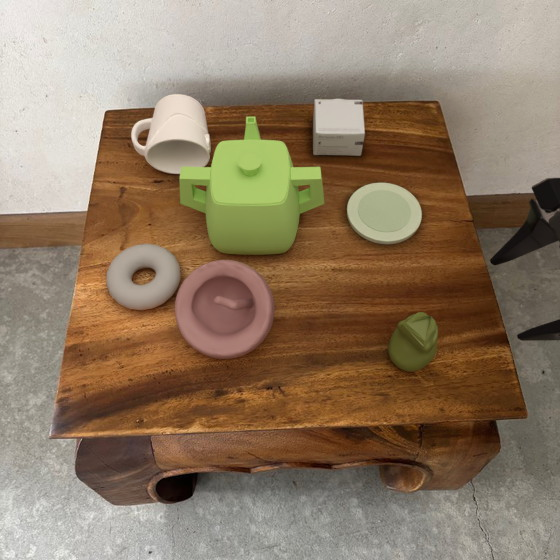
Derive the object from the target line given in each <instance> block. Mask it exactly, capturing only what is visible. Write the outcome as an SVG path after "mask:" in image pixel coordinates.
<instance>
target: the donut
mask: <svg viewBox="0 0 560 560" xmlns="http://www.w3.org/2000/svg"><path fill="white" fill-rule="evenodd" d="M142 269H152V270H153V271H154V272H155V275H154V277H153V279H152V280H151V281H149V282H147V283H146V284H137V283H134V282H133V276H134V275H135V273H137V272H138V271H139V270H140V271H141V270H142ZM181 278H182V274H181V266H180V264H179V261H178V260H177V257H176V256H175V254H173V253H172V252H171V251H170V250H169V249H167V248H165V247H162V246H160V245H158V244H153V243H140V244H135V245H132V246H129V247H127V248H124V250H122V251H121V252H119V253H118V254H117V255H116V256H115V257H114V259H113V260H112V261H111V263H109V266H108V269H107V272H106V277H105V279H106V282H105V283H106V288H107V291H108V293H109V295H110V297H112V298H113V299H114V300H115V301H116V302H117V303H118V305H119V306H122V307H125V308H126V309H130V310H136V311H144V310H151V309H152V310H153V309H154V308H158V307H159V306H161V305H163V304H165V303H166V302H167V301H169V300H170V299H171V298H172V297H173V295H174V294H175V293H176V291H177V290H178V288H179V287H180V286H179V285H180V281H181Z"/></svg>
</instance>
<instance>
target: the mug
mask: <svg viewBox="0 0 560 560" xmlns="http://www.w3.org/2000/svg"><path fill="white" fill-rule="evenodd" d="M207 123H208V122H207V118H206V111H205V109H204V107H203V105H202V104H201V103H200V102H199V101H198V100H197V99H195V98H193V97H192V96H189V95H187V94H181V93H174V94H173V93H172V94H169V95H165V96H164V97H162V98H161V99H159V101H158V102H157V103H156V104H155V106H154V110H153V114H152V117H151V118H145V119H141V120H139V121H136V122H135V124H134V125H133V126H132V128H131V133H130V137H131V141H132V145H133V148H134V150H135V151H136V153H137V154H138V155H141V156H142V157H144V159H145V161H146V162H147V163H148V165H150V166H151V167H152V168H154V169H155V170H158V171H159V172H163V173H166V174H172V175H180V172H181V167H207V165H208V163H209V162H210V159H211V153H212V146H211V143H212V142H211V136H210V134H209V129H208V124H207ZM147 130H149V131H148V135H147V138H146V142H145V145H141V144H140V143H139V142H138V141H139V135H140V134H141V133H142V132H144V131H147Z"/></svg>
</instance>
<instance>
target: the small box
mask: <svg viewBox="0 0 560 560" xmlns="http://www.w3.org/2000/svg"><path fill="white" fill-rule="evenodd" d="M313 101H314V102H313V115H312V116H313V117H312V150H313V152H312V153H313V154H312V155H313V156H354V157H361V156H362V153H363V147H364V143H365V136H366V130H365V115H364V100H363V99H344V98H333V99H332V98H331V99H329V98H327V99H326V98H325V99H323V98H321V99H320V98H314V100H313Z"/></svg>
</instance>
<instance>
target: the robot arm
mask: <svg viewBox="0 0 560 560" xmlns="http://www.w3.org/2000/svg"><path fill="white" fill-rule="evenodd" d="M531 190H532V193H533V195H534V197H535V199H536V200H535V199H534V198H533V197H532V198H530V199H529V201H528V205H529V212H528V214H527V216H526V219H525V221H524V222H523V224H522V225H521V226H520V228H519V229H518V230H517V231H516V232H515V234H513V236H511V238H510V239H508V240H507V242H506V243H505V244H504V245H503V246H502V247H501V248H500V249H498V251H497V252H496V253H494V255H492V256H491V258H490V259H489V262H490V264H491V265H493V266H498V265H502V264H505V263H508V262H511V261H513V260H516V259H518V258H520V257H521V258H522V257H523V256H525V255H528V254H530V253H532V252H534V251H538V250H540V249H542V248H545V247H547V246H550V245H552V244H554V243H556V242H559V243H560V177H546V178H545V179H543V180H540V181H538V182H537V183H535V184H533V185H531ZM558 247H559V248H560V245H559V246H558ZM516 337H517V339H518V340H519V341H522V342H523V341H525V342H529V341H530V342H531V341H532V342H535V341H537V342H538V341H560V318H559V319H556V320H553V321H550V322H546V323H543V324H541V325H537V326H534V327H531V328H528V329H526V330H524V331H522V332H520V333H518V334H517V335H516Z"/></svg>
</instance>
